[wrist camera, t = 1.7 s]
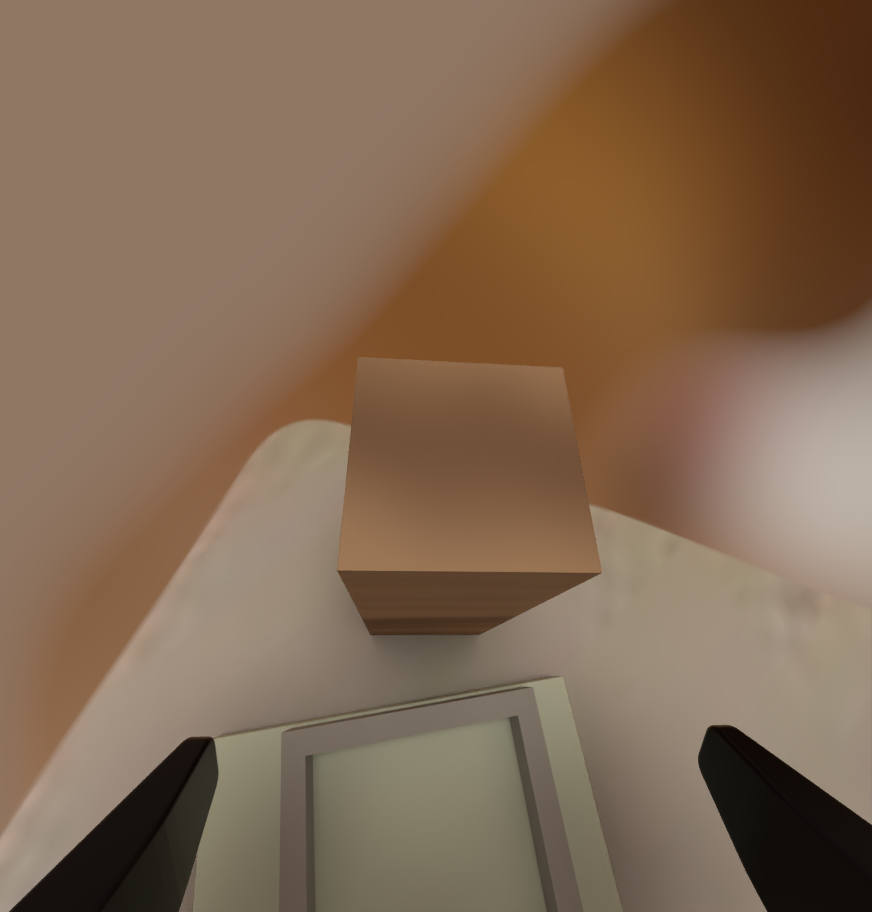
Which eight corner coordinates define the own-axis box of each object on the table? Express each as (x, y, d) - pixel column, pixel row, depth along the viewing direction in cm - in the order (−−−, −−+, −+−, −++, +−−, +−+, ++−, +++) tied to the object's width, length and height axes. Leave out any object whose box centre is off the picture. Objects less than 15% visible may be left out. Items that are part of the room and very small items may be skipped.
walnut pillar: (479, 634, 20) (601, 572, 8) (370, 634, 19) (337, 570, 8) (473, 530, 22) (562, 367, 10) (376, 528, 21) (357, 357, 10)
